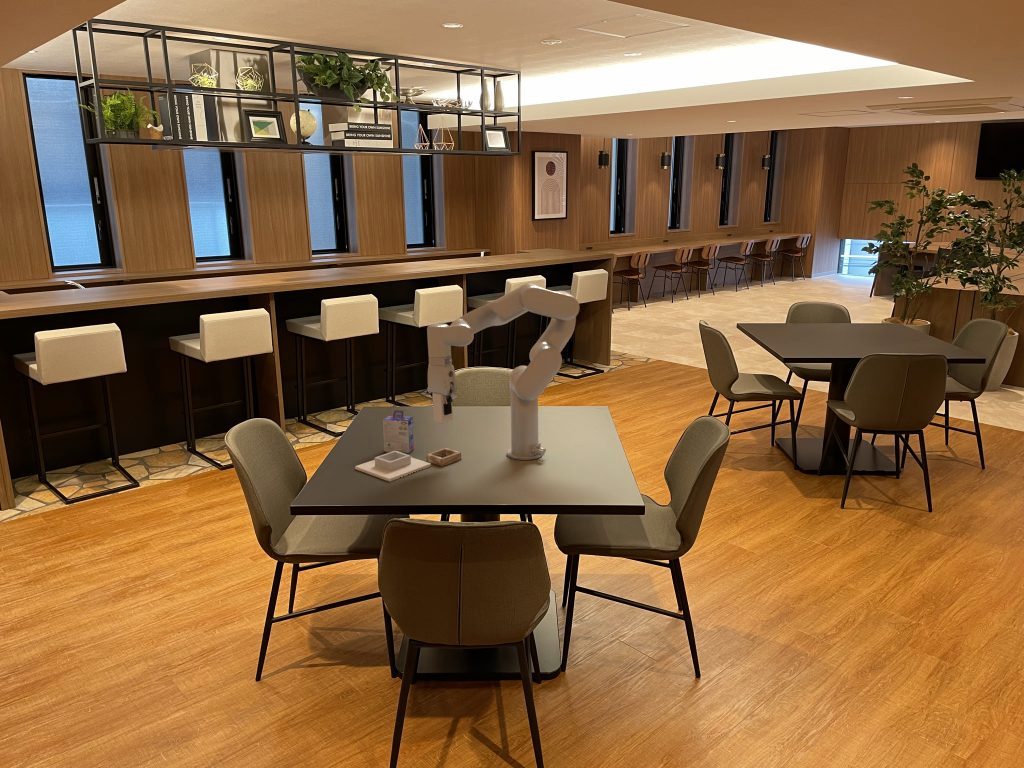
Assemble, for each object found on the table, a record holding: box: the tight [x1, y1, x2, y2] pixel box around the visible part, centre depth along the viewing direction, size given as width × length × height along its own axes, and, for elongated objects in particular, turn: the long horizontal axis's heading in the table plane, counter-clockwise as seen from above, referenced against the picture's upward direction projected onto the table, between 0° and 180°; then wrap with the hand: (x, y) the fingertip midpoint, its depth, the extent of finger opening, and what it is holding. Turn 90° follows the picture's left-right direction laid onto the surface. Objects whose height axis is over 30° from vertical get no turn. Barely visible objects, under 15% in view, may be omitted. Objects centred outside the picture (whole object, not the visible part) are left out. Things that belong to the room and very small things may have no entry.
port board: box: [354, 451, 432, 482], centre depth 261 cm, size 18×18×4 cm
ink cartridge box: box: [382, 409, 415, 454], centre depth 277 cm, size 10×6×14 cm, turn 78°
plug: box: [432, 393, 454, 424], centre depth 263 cm, size 4×5×11 cm
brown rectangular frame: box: [425, 447, 462, 467], centre depth 267 cm, size 8×9×2 cm
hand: (443, 412), depth 264 cm, fingers closed on plug, 4 cm apart
